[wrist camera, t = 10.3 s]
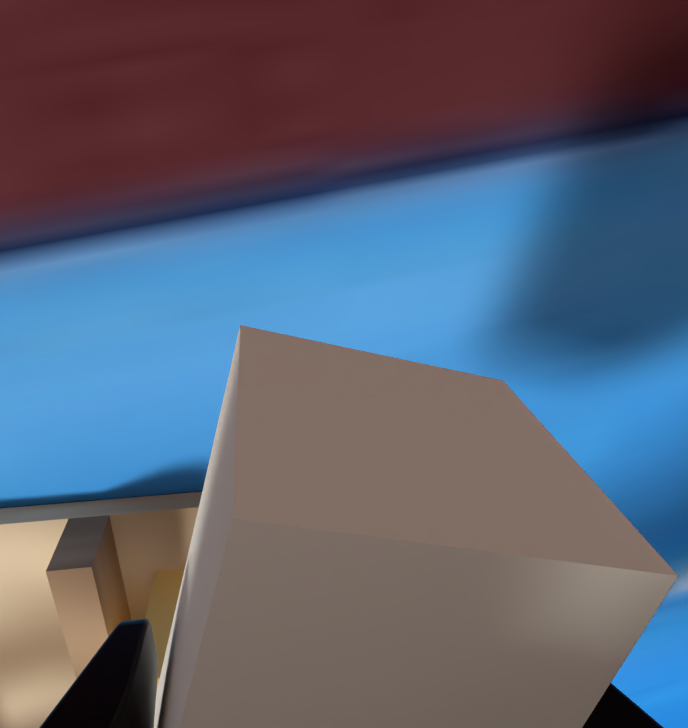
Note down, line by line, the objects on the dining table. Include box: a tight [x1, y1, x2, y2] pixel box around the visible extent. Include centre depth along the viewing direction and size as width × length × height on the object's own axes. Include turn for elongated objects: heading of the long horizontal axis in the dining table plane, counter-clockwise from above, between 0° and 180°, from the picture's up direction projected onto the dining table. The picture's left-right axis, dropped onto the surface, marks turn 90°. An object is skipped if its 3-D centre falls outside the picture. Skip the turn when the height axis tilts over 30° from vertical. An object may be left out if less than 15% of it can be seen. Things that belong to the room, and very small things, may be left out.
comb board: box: [0, 492, 202, 728], centre depth 20 cm, size 13×16×3 cm
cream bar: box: [154, 325, 678, 728], centre depth 8 cm, size 8×4×4 cm, turn 164°
